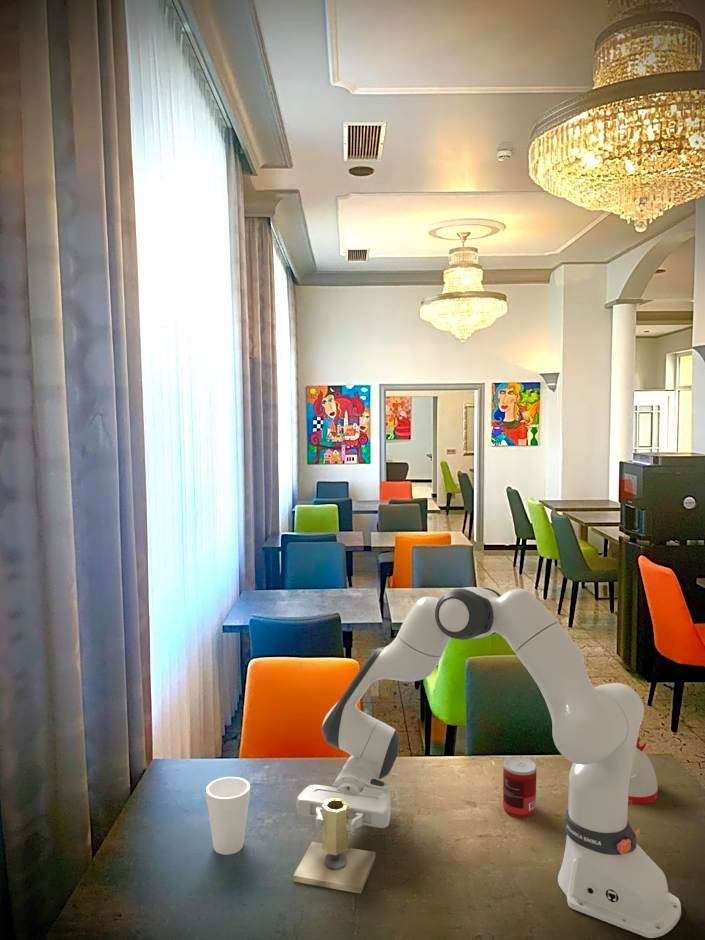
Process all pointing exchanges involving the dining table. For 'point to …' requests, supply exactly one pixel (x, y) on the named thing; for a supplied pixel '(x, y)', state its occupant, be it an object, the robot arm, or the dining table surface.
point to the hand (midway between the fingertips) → (333, 826)
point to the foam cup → (228, 813)
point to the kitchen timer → (642, 778)
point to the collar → (334, 826)
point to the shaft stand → (335, 868)
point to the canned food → (519, 787)
